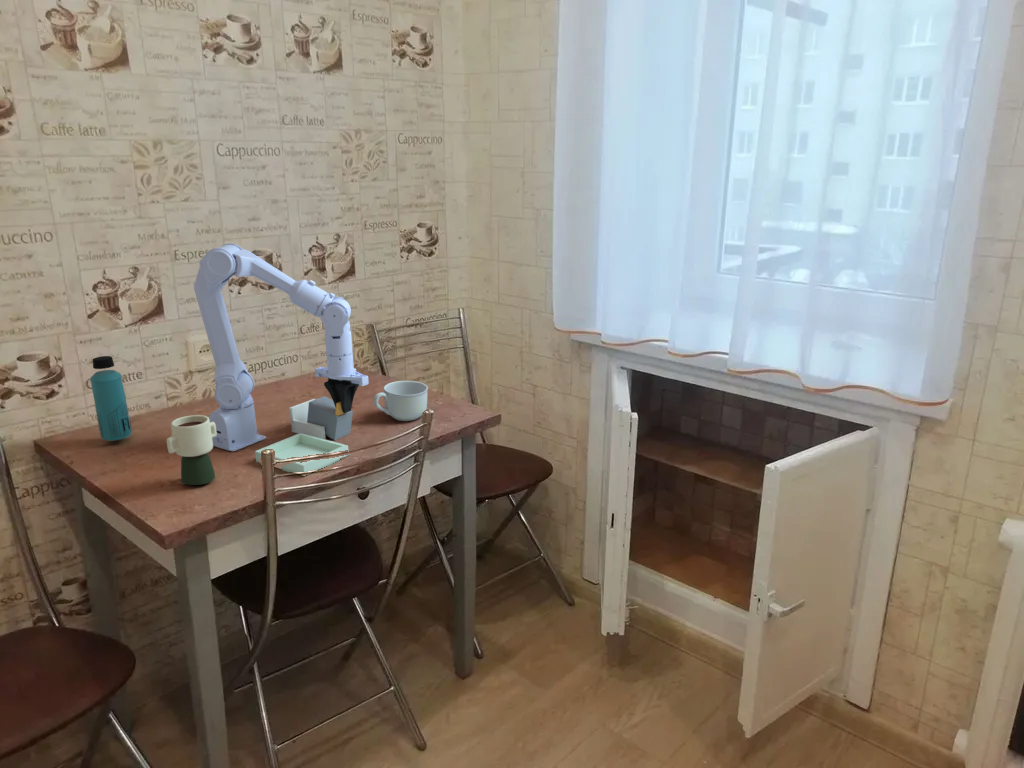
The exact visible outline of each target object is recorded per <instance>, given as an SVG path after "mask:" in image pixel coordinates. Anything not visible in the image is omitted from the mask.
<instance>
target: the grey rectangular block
mask: <svg viewBox="0 0 1024 768" xmlns="http://www.w3.org/2000/svg"><path fill="white" fill-rule="evenodd" d="M315 399H316V400H313V401H310V402H309V407H308V417H307V422H308V423H312V424H316V425H319V426H323V427H325V437H328V438H330V439H331V440H333V441H337V440H338V439H339V440H340V439H341V438H343V437H346V436H348V435H350V434H351V429H352V421H353V415H354V411H353V410H352V409H351V411H349V412H347V413H343V412H342V408H341V402H338V403H336V407H335V405H334V402H333V399H332V398H331V397H330V398H329V397H328V396H325V395H324V396H322V397H318V398H315Z"/></svg>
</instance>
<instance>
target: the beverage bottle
mask: <svg viewBox="0 0 1024 768" xmlns="http://www.w3.org/2000/svg"><path fill="white" fill-rule="evenodd" d="M114 366H115V363H114V360H113V356H109V355H103V356H101V355H100V356H97V357H94V358H93V359H92V368H93V369H95V370H98V371H95V373H93V375H91V376H90V378H89V380H90V381H89V382H90V385H91V389H92V390H91V391H92V395H93V401H94V409H95V413H96V417H97V418H96V420H97V424H98V430H99V434H100V437H101V439H102V440H103V441H108V442H110V441H119V440H124V439H127V438H129V437H130V436H132V431H133V430H132V422H131V419H130V414H129V412H130V411H129V407H128V403H127V397H126V395H127V394H126V392H125V388H124V383H123V376H122V374H121V373H120V372H119V371H117V370H114V369H110V368H113V367H114ZM103 369H104V370H103ZM99 370H100V371H99Z"/></svg>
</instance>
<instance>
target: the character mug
mask: <svg viewBox="0 0 1024 768" xmlns="http://www.w3.org/2000/svg"><path fill="white" fill-rule="evenodd" d="M209 417H210V416H207V415H201V414H195V415H185V416H181V417H177V418H175V419H173V420H172V421H171V422H170V429H171V436H169V437H167V438H166V446H167V451H168V453H169V454H174V453H175V454H176V455H178V456H181V459H180V478H181V479H180V480H181V484H183V485H190V486H201V485H206V484H208V483H210V482H213V481H214V479H215V478H216V475H215V474H216V473H215V470H214V466H213V463H212V458H211V456H210V454H209V452H211V451H213V448H214V446H213V441H212V438H214V437H216V436H217V431H216V424H215V422H210V420H209Z"/></svg>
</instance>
